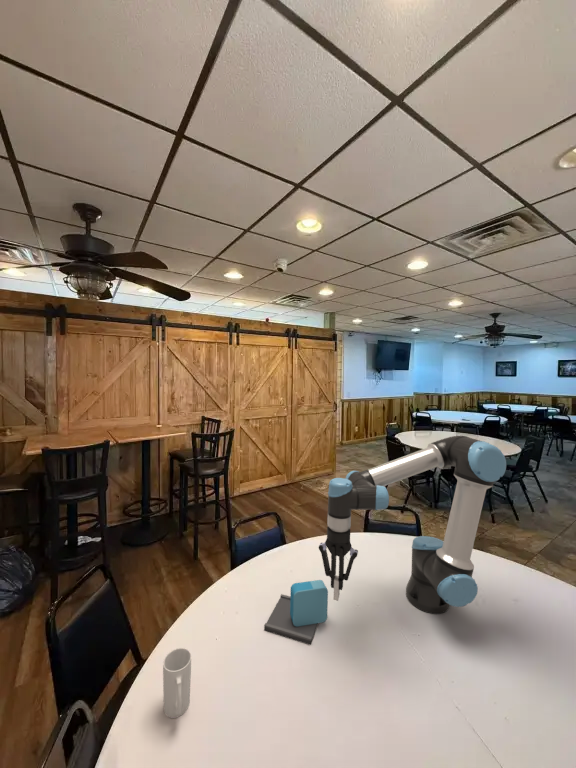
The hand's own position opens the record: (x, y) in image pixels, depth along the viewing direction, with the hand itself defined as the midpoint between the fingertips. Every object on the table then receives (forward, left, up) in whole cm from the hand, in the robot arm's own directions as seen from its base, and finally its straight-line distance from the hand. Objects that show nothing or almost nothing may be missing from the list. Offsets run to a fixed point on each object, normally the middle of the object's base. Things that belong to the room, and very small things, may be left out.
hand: (336, 597), depth 105 cm
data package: (+9, 0, -11) cm, 14 cm away
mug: (+32, +39, -12) cm, 52 cm away
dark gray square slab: (+14, 0, -12) cm, 18 cm away
